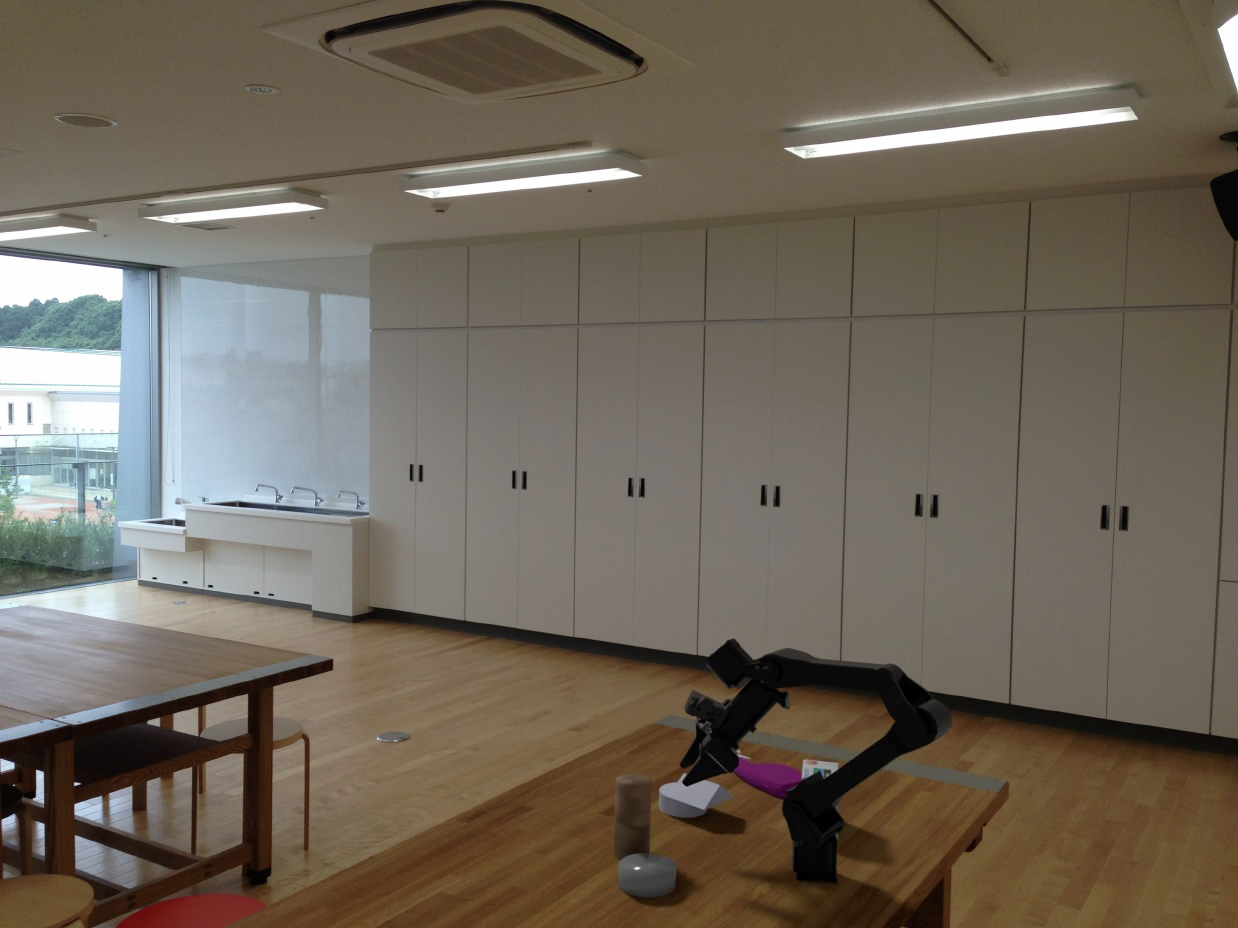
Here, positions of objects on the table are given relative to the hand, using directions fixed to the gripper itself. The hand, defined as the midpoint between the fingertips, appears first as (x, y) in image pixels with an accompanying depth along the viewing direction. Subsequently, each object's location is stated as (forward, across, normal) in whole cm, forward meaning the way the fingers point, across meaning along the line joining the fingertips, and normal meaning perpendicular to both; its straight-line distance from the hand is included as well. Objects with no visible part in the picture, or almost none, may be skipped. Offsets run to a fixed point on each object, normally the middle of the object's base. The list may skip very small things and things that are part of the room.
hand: (682, 775), depth 173 cm
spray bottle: (-3, -39, +22) cm, 45 cm away
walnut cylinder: (+15, +1, +3) cm, 16 cm away
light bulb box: (-8, -13, +28) cm, 31 cm away
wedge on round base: (+8, -19, +11) cm, 23 cm away
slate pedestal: (+14, +12, +5) cm, 19 cm away
